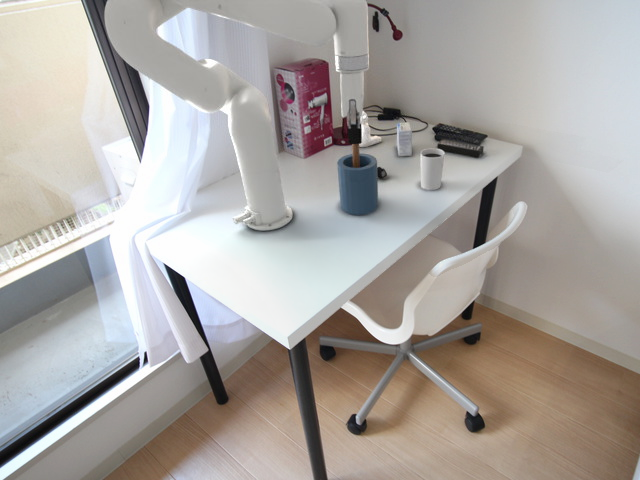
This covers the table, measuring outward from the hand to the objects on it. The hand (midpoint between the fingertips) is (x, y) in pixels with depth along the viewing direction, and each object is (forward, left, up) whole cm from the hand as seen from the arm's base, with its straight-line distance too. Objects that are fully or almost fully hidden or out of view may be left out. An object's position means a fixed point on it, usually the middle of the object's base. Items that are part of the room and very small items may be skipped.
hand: (355, 141), depth 108 cm
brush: (0, 0, -15) cm, 15 cm away
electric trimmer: (+15, +13, -17) cm, 26 cm away
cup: (0, 0, -18) cm, 18 cm away
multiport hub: (+47, +1, -19) cm, 51 cm away
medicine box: (+35, +15, -19) cm, 43 cm away
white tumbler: (+22, -7, -19) cm, 30 cm away
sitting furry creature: (+31, +30, -19) cm, 47 cm away
